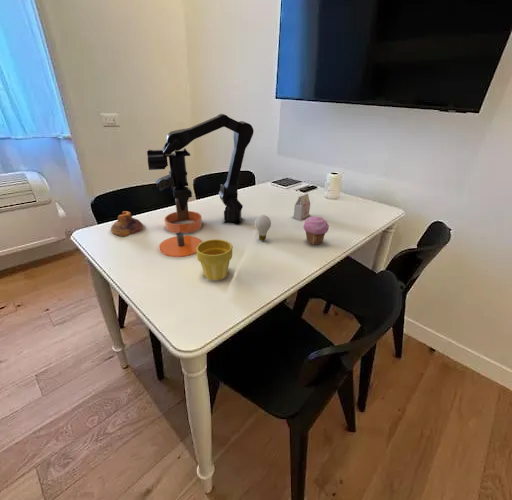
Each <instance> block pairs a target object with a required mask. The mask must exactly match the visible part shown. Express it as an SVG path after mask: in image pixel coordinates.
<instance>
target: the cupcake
mask: <svg viewBox="0 0 512 500" xmlns="http://www.w3.org/2000/svg"><path fill="white" fill-rule="evenodd" d="M302 228H303V230H304V231H305V237H306V241H307V242H308V243H309V244H310V245H312V246H316V245H320V244H322V243H323V242H324V239H325V235H326V234H327V233H328V232H329V228H330V227H329V224H328V221H327V220H326V219H325V218H323V217H321V216H315V215H314V216H310V217H309V216H308V217H306V220H305V221H304V223H303V227H302Z"/></svg>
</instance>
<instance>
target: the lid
mask: <svg viewBox="0 0 512 500" xmlns="http://www.w3.org/2000/svg"><path fill="white" fill-rule="evenodd" d="M175 235H176V236H172V237H169V238H167V239H164V240H163V241H162V242H160V244H159V245H158V250H159V252H160V253H161V254H162V255H165V256H168V257H173V258H181V257H188V256H191V255H194V254H197V251H196V248H197V246H198V245H199V244H200V243H201V242H203V241H202V240H201V239H200V238H198V237H197V236H193V235H185V233H183V232H178V233H175Z"/></svg>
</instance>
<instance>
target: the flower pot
mask: <svg viewBox="0 0 512 500" xmlns="http://www.w3.org/2000/svg"><path fill="white" fill-rule="evenodd" d="M196 251H197V253H196V258H197V261H198V262H199V263H200V266H201V268H202V271H203V274H204V276H205V278H206V279H208V280H211V281H219V280H222V279H225V278H226V277H227V275H228V271H229V266H230V261H231V260H232V259H233V245H232V244H231V242H229V241H228V240H224V239H219V238H218V239H217V238H216V239H207V240H204V241H202V242H201V243H200V244H199V245H198V246H197V248H196Z"/></svg>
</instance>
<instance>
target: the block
mask: <svg viewBox="0 0 512 500" xmlns="http://www.w3.org/2000/svg"><path fill="white" fill-rule="evenodd" d="M174 201H175V203H174V204H175V212H177V218H178V220H177V222H184V221H185V222H186V221H190V220H189V213H188V211H189V203H188V202H189V201H188V202H187V204H186V207H185V210H184V211H182V210H181V207H180V204H179V201H178V199H175V198H174Z"/></svg>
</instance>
